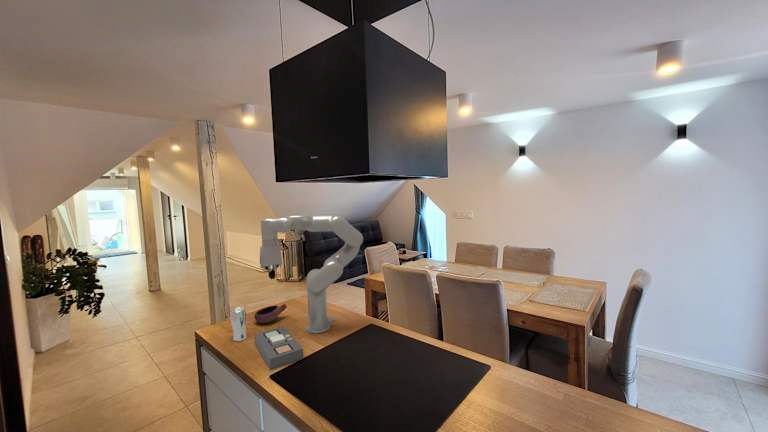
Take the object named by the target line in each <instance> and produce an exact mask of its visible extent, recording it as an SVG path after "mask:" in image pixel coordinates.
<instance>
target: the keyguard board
mask: <svg viewBox="0 0 768 432" xmlns="http://www.w3.org/2000/svg"><path fill="white" fill-rule="evenodd" d="M272 331H277V332H278V333H279V334H282V335H283V336H284V338H285V343H282V344H278V345H275V346H271V345H270V340H269V338H268V339H266V337H265V333H268V332H272ZM253 335H254V344H255V345H256V347H257V349H258V350H259V352H260V354H261V356H262V357H263V359H264V361H265V363H266V365H267V367H268V368H269V370H274V369H277V368H280V367H282V366H286V365H288V364H291V363H294V362H297V361H300V360H303V359H304V348H303V347H302V346H301V345H300V343H298V341H297V340H296V338H294V337H293V335H291V333H290V332H289V331H288V330H287V329H286V328H285V326H281V327H276V328H272V329H270V330H269V329H268V330H265V331H262V332H258V333H254V334H253ZM285 345H288V346H289V347H290V348H291V349H292V351H288V352H285V353H282V354H279V355H277V353H276V352H275V348H278V347H282V346H285Z"/></svg>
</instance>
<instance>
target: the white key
mask: <svg viewBox="0 0 768 432" xmlns="http://www.w3.org/2000/svg"><path fill="white" fill-rule="evenodd" d="M269 340H270V345H271V346H275V345H278V344H282V343H285V338H284V336H283V335H282V334H280V335H276V336H273V337H269Z"/></svg>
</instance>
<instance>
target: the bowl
mask: <svg viewBox="0 0 768 432" xmlns="http://www.w3.org/2000/svg"><path fill="white" fill-rule="evenodd" d="M287 307H288V306H287V304H285V303H283V304H281V306H280V305H270V306H269V305H268V306H266V307H263V308H261V309H259V310H256V312H255V313H254V315H253V318H254V320H255V321H256V322H257V323H260V324H269V323H271V322H273V321H275V319H276V318H278V316H279V315H280V314H282V312H284V311H285V310H286V309H287Z"/></svg>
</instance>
